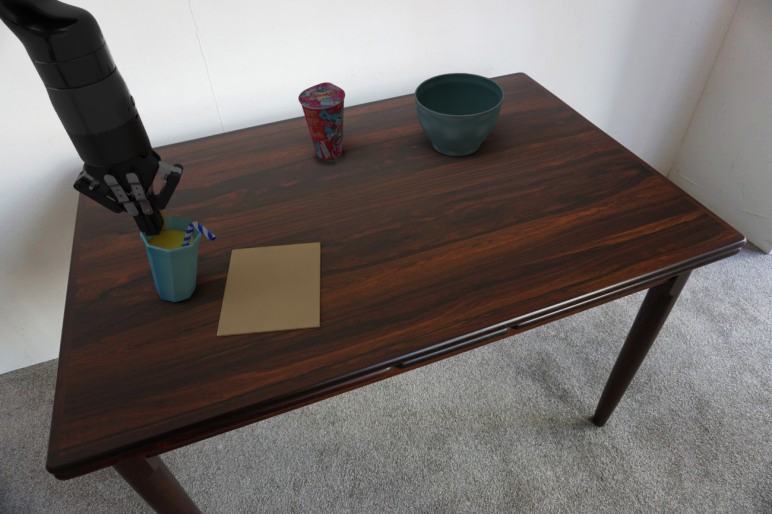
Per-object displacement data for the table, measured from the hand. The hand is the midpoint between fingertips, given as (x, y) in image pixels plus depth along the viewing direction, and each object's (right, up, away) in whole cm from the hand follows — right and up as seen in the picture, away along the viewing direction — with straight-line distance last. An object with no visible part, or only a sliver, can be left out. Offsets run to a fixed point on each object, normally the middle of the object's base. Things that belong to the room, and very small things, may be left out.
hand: (155, 231), depth 69 cm
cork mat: (+14, -8, +9) cm, 18 cm away
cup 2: (+19, +17, +34) cm, 43 cm away
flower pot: (+44, +19, +34) cm, 59 cm away
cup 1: (0, -9, +8) cm, 12 cm away
